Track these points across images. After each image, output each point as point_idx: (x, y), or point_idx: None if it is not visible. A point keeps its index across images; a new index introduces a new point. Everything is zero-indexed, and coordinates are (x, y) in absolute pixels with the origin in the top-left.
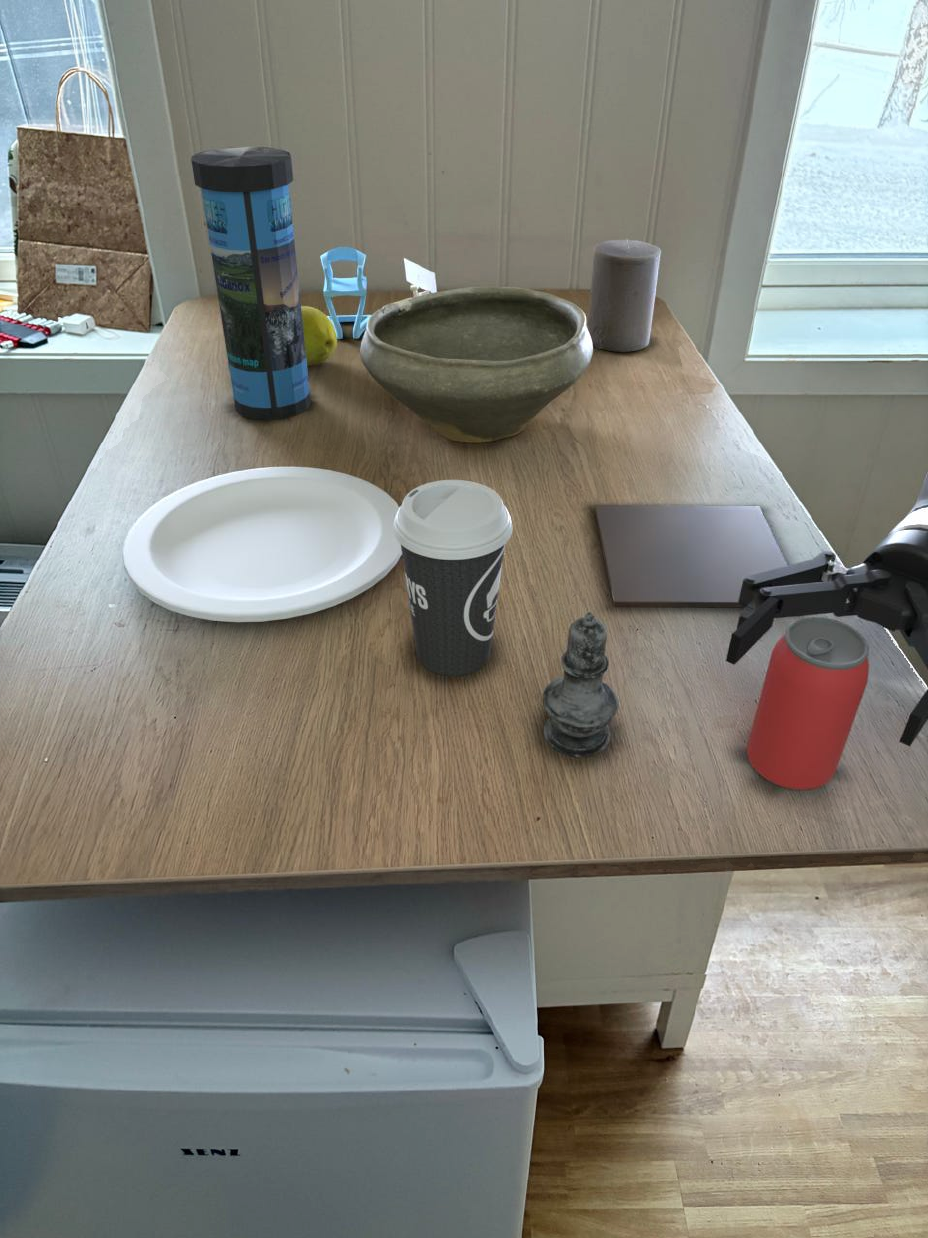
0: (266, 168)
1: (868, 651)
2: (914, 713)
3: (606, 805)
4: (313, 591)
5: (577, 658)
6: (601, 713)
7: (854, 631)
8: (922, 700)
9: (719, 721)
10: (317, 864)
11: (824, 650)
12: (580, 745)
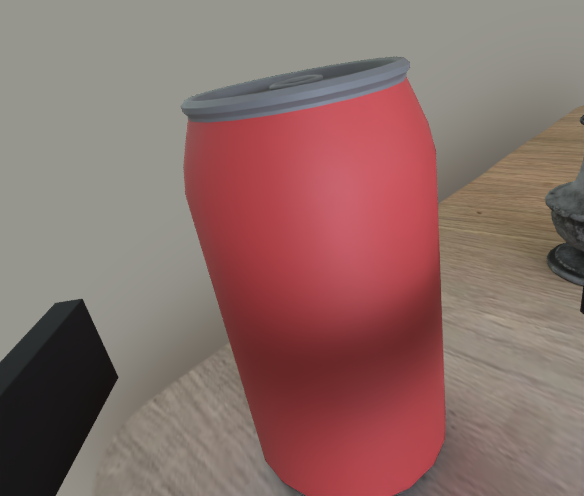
0: None
1: (182, 104)
2: (71, 305)
3: (456, 245)
4: None
5: None
6: (563, 197)
7: (241, 97)
8: (37, 344)
9: (537, 420)
10: (519, 150)
11: (281, 81)
12: (567, 247)
